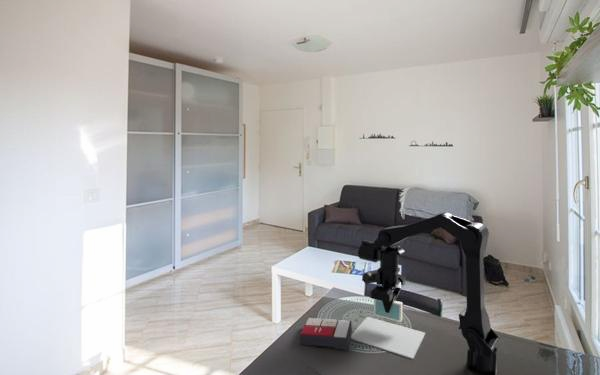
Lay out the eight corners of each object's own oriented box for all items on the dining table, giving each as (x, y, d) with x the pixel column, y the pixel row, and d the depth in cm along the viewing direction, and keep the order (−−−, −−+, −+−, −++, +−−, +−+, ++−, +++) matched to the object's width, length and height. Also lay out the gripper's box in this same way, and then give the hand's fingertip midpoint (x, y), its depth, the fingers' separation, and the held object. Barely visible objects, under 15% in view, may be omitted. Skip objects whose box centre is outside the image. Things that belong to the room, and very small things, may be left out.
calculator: (307, 316, 110) (351, 318, 106) (308, 328, 110) (352, 331, 106) (298, 333, 99) (347, 336, 95) (300, 346, 99) (348, 350, 95)
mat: (425, 333, 105) (425, 332, 105) (413, 359, 92) (413, 358, 92) (367, 317, 116) (367, 316, 116) (349, 338, 103) (349, 337, 103)
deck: (402, 320, 105) (402, 302, 104) (400, 322, 103) (401, 304, 103) (375, 313, 110) (376, 296, 109) (373, 315, 108) (374, 298, 108)
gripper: (375, 254, 117) (374, 295, 119) (354, 269, 102) (354, 316, 103) (406, 259, 111) (405, 302, 112) (389, 275, 96) (388, 326, 97)
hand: (388, 311), depth 106 cm, fingers closed on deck, 2 cm apart
